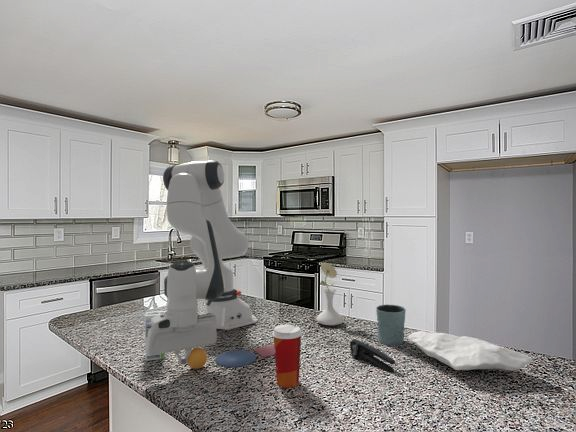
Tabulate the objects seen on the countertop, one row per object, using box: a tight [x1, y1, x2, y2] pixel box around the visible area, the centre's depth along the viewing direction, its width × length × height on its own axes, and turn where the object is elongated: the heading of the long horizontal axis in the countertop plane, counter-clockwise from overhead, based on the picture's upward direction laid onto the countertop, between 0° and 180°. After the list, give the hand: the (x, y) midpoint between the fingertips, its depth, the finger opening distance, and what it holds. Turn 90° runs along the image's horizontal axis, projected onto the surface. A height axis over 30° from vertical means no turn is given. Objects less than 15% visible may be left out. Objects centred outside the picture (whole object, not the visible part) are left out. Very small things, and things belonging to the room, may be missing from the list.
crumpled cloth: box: [406, 330, 533, 372], centre depth 112 cm, size 24×35×9 cm
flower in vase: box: [315, 262, 345, 326], centre depth 155 cm, size 13×11×25 cm
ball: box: [187, 347, 208, 370], centre depth 113 cm, size 6×6×6 cm
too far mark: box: [253, 344, 275, 358], centre depth 126 cm, size 8×8×1 cm
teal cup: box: [375, 304, 406, 347], centre depth 133 cm, size 10×10×12 cm
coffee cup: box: [271, 324, 303, 389], centre depth 102 cm, size 8×8×15 cm
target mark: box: [214, 349, 257, 368], centre depth 120 cm, size 13×13×1 cm
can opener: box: [349, 338, 397, 373], centre depth 116 cm, size 18×7×6 cm, turn 31°
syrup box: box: [144, 310, 166, 362], centre depth 122 cm, size 6×6×14 cm
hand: (183, 363), depth 111 cm, fingers closed
